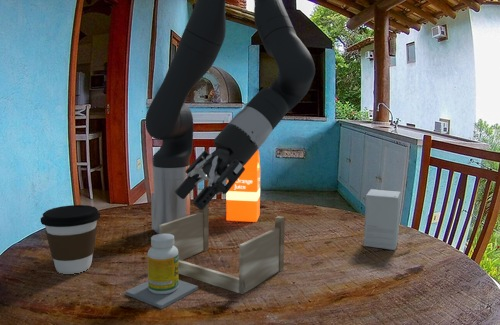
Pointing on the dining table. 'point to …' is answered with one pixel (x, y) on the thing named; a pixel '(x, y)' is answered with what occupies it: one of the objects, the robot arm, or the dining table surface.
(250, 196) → the orange juice
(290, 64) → the robot arm
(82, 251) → the coffee cup
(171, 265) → the supplement bottle
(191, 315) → the dining table surface
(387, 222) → the supplement box
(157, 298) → the mat
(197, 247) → the grey open box frame
